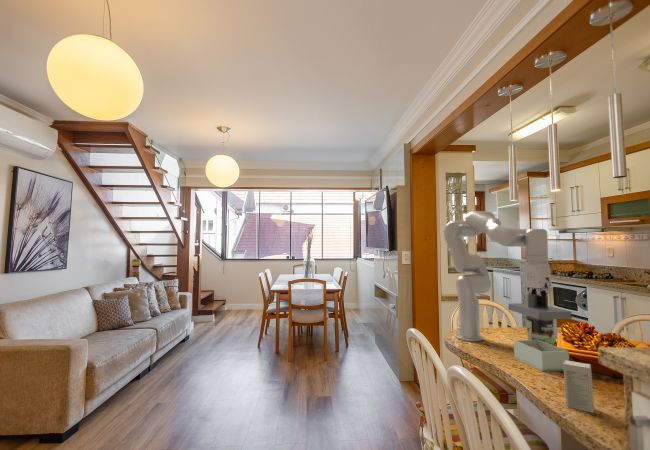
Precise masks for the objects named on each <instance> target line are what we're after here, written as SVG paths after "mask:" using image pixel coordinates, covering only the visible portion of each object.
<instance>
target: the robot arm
mask: <svg viewBox="0 0 650 450" xmlns="http://www.w3.org/2000/svg"><path fill="white" fill-rule="evenodd" d="M482 233H484V234H485V235H487V236H488V238H489V239H490V240H491V241H493V242H495V243H497V244H499V245H502V246H504V247H511V248H513V247H514V248H515V247H518V248H519V247H522V248H525V262H524V265H523V273H522V284H523V286H524V288H526V290H527V291H528V294H538V296H537V306H538V307H546V297H547V295H549V293H551V292H553V289H552V275H551V273H552V272H551V267H550V264H549V249H548V248H549V246H548V245H549V242H548V241H549V240H548V237H549V236H548V231H547V230H546V229H544V228H528V229H526V228H508V227H504V226H503V225H502V222H501V220H500V218H497V217H496V215H495V214H493V212H490V211H486V210H485V211H484V210H471V211H469V212H468V213H467V214H466V215H465V220H459V219H458V220H451V221H449V222H448V223H446V224H445V226H444V230H443V236H444V240H445V242H446V244H447V247H448V250H449V253H450V256H451V260H452V265H453V267H454V269H455V271H456V272H458V273H465V274H463V275H460V276H458V277H457V279H456V282H455V286H456V292H457V296H458V297H457V298H458V301H457V302H458V326H457V330H458V332H457V333H456V334H455V337H456V338H457V339H459V340H461V341H466V342H473V343H474V342H477V343H478V342H482V341H484V336H482V335H480V333H481V330H480V324H481V323H480V322H481V321H480V302H479V298H478V297H477V296H476V294H484V293H485V294H486V293H487V292H489V291H490V290H491V287H492V282H491V278H490V274H489V272H488V269H487V266H486V262H485V261H484V259H483V257H481V256H480V255H478V254H476V253H474V254H470V253H469V251H468V248H467V245H466V244H465V242H464V241H463V239H462V238H461V237H463V238H465V237H467V238H471V237H476V236H479V235H481V234H482ZM467 273H469V274H467ZM470 273H471V274H470Z"/></svg>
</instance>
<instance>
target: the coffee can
mask: <svg viewBox="0 0 650 450" xmlns="http://www.w3.org/2000/svg"><path fill="white" fill-rule="evenodd" d="M525 319H526V340H540V341H543V342H545V343H548V344H551V345H553V346H555V343H554V331H553V321H554V320H553V319H537V318H534V317H531V316H527V315H525Z"/></svg>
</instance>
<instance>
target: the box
mask: <svg viewBox="0 0 650 450" xmlns="http://www.w3.org/2000/svg"><path fill="white" fill-rule="evenodd" d="M513 352H514V353H513V354H514V355H513V356H514V358H515V359H517V360H518V361H521V362H522V363H524V364H526V365H529V366H531V367H532V368H534V369H537V370H538V371H540V372H544V373H545V372H564V366H563V363H564V361H565V360H567V361H570V351H569V350H567V349H564V348H561V347H558V346H556V345H554V346H553V345H551V344H548V343H545V342H543V341H540V340H527V339H521V340H520V339H519V340H518V339H517V340H513Z"/></svg>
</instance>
